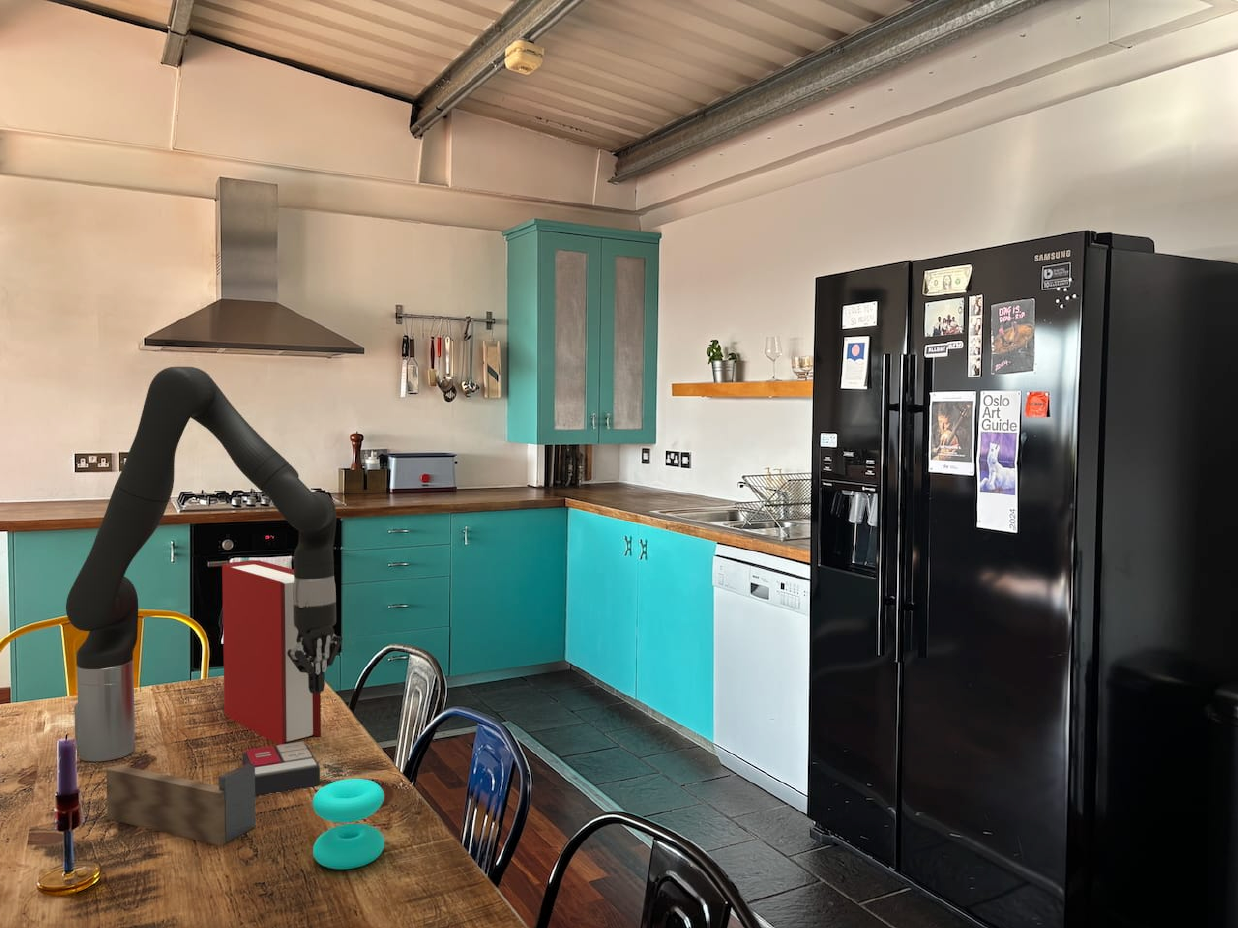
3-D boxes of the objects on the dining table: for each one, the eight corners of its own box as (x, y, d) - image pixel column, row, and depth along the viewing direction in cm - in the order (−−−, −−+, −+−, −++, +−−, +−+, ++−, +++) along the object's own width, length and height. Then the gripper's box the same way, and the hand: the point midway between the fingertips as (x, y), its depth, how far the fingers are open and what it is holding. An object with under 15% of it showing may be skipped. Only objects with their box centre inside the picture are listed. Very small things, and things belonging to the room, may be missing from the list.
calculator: (305, 738, 175) (320, 761, 162) (305, 761, 175) (320, 786, 162) (242, 748, 170) (252, 772, 157) (242, 771, 170) (252, 798, 157)
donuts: (347, 809, 129) (297, 793, 134) (348, 879, 130) (298, 861, 135) (398, 784, 138) (349, 770, 143) (399, 850, 139) (350, 834, 144)
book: (321, 736, 186) (319, 576, 184) (282, 747, 180) (280, 581, 178) (258, 705, 205) (256, 559, 203) (221, 713, 199) (219, 563, 197)
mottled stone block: (107, 818, 148) (105, 768, 148) (144, 801, 155) (143, 753, 154) (220, 845, 139) (219, 793, 139) (255, 826, 146) (254, 776, 145)
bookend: (220, 841, 141) (218, 776, 140) (249, 825, 146) (248, 762, 146) (226, 843, 140) (225, 777, 140) (255, 826, 146) (254, 763, 145)
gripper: (322, 592, 182) (324, 680, 183) (273, 605, 170) (275, 700, 171) (354, 595, 179) (355, 684, 180) (306, 609, 167) (308, 705, 168)
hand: (316, 692), depth 175 cm, fingers closed
